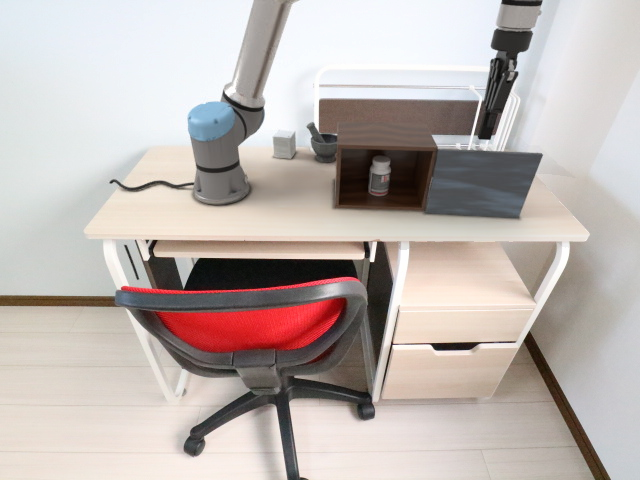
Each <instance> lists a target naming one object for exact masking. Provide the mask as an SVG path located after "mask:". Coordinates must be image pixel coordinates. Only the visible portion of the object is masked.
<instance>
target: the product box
mask: <svg viewBox="0 0 640 480" xmlns="http://www.w3.org/2000/svg"><path fill="white" fill-rule="evenodd" d="M296 139H297V138H296V131H292V130H283V129H282V130H281V129H277V131H276V132H275V133H274V135H273V136H272V144H273V157H274V158H277V159H280V158H281V159H289V160H291V159H292V158H293V157H294V155H295V154H296V152H297V145H296V144H297V141H296Z"/></svg>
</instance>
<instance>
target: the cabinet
mask: <svg viewBox="0 0 640 480" xmlns="http://www.w3.org/2000/svg"><path fill="white" fill-rule="evenodd" d="M336 135H337V149H336V154H335V174H334V176H335V177H334V209H354V210H386V211H414V212H415V211H417V212H421V211H422V212H425V210H426V205H427V200H428V195H429V191H430V186H431V181H432V174H433V169H434V164H435V160H436V155H437V150H438V149H439V146H438V144H437V142H436V140H435V139H434V136H433V135H432V133H431V130H430V129H429V127H428V125H427V123H418V122H417V123H413V122H379V121H376V122H375V121H346V120H345V121H344V120H343V121H340V120H337V129H336ZM380 155H381V156H386V157H389V158H390V165H389V166H390V168H391V174H390V181H389V189H388V193H387V194H386V195H384V196H375V195H372V194H370V193H369V192H368V183H369V173H370V167H371V166H372V165H373V163H372V162H373V158H374V157H375V156H380Z"/></svg>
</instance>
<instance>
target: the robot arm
mask: <svg viewBox="0 0 640 480" xmlns="http://www.w3.org/2000/svg"><path fill="white" fill-rule="evenodd" d="M299 1H300V0H253V1H252V5H251V8H250V12H249V16H248V19H247V24H246V27H245V31H244V35H243V38H242V42H241V45H240V49H239V52H238V57H237V60H236V64H235V68H234V72H233V75H232V79H231V81H230V82H228V83H225V84H224V86H223V89H222V93H221V97H220V100H219V101H216V100H215V101H207V102H205V103H200V104H197V105H196V106H194V107H193V108H192V109H190V110H189V112H188V114H187V131H188V134H189V137H190V144H191V147H192V153H193V158H194V163H195V168H196V170H195V174H194V175H195V176H194V181H192V182H185V183H181V184H175V183H170V182H169V181H166V180H152V181H150V182H147V183H144V184H141V185H138V186H135V187H133V186H132V187H131V186H126V185H124V184H123V183H121V182H120V181H119V180H117V179H116V178H113V179H111V180H109V182H108V184H110V185H112V184H114V183H115V184H117V186H119V187H120V188H122V189H123V190H126V191H138V190H142V189H144V188H147V187H149V186H152V185H156V184H163V185H167V186H169V187H171V188H175V189H176V188H177V189H178V188H179V189H180V188H184V187H191V186H193V193H194V194H193V195H194V197H195V199H196V200H197V201H199V202H200V203H203V204H206V205H213V206H221V205H222V206H223V205H229V204H233V203H236V202H238V201H241V200H243V199H244V198H245V197H247V196H248V194H249V193H250V183H249V177H248V175H247V174H246V173H245V172H244V169H243V167H242V165H241V159H240V152H239V147H240V145H242V144H243V143H244V142H245V141H246V140H247V139H248V138H250V137H251V136H252V135H254V134H255V133H257V132H258V131H259V129H261V127H262V126H263V124H264V122H265V121H264V120H265V116H266V112H265V111H266V110H265V105H266V98H265V96H264V95H263V93H264V90H265V87H266V84H267V82H268V78H269V75H270V72H271V69H272V66H273V63H274V61H275V57H276V55H277V51H278V49H279V45H280V43H281V40H282V37H283V33H284V30H285V27H286V24H287V21H288V19H289V15H290V12H291V10H292V7H293V5H294V4H295V3H297V2H299ZM543 2H544V0H501V2H500V4H499V9H498V12H497V17H496V21H495V26H496V27H497V28H495V29H494V30H493V35H492V38H491V42H490V49H492V50H494V51H497V52H496V55H495V57H494V58H491V59H490V61H489V71H488V78H487V82H486V87H485V93H484V98H483V102H482V103H483V105H484V109H483V115H482V119H481V122H480V126H479V131H478V133H477V139H478V140H483V141H484V140H485V141H492V140H491V139H492V136H493V134H494V130H495V126H496V124H497V123H496V122H497V118H498V115H499V114H503V112H504V110H505V108H506V105H507V101H508V99H509V96H510V94H511V91H512V89H513V87H514V84H515V82H516V80H517V79H518V77H519V75H520V74H519V73H520V72H519V71H518V70H516V69H517V66H518V56H519V53H520V54H521V53H525V52H527V51H528V50H529V48H530V46H531V42H532V39H533V35H534V32H533V30H532V29H534V28H535V27H536V24H537V23H538V22H537V21H538V17H540V16H541V15H542V13H543V12H542V10H541V9H542V5H543ZM123 246H124V249H125V251H126V252H125V253H126V254H127V257H128V259H129V262H130V265H131V267H132V270H133V272H134V276H135V279H136V280H137V281H140V277H139V274H138V271H137V269H136V268H137V267H136V265H135V263H134V260H133V257H132V255H131V252H130V250H129V246H128V244H123Z"/></svg>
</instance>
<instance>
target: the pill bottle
mask: <svg viewBox="0 0 640 480" xmlns="http://www.w3.org/2000/svg"><path fill="white" fill-rule="evenodd" d="M372 163H373V165H372V166H371V167H370V173H369V183H368V192H369V193H370V194H372V195H375V196H384V195H386V194H387V193H388V189H389V181H390V174H391V168H390V166H389V165H390V158H389V157H386V156H381V155H380V156H375V157H374V158H373V162H372Z"/></svg>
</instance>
